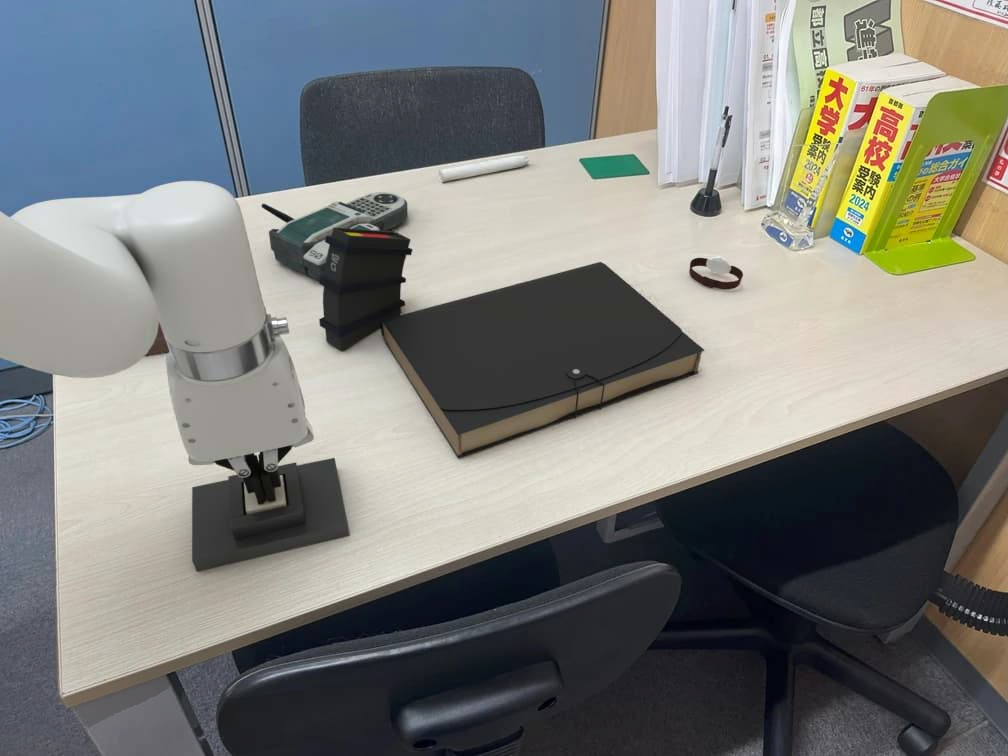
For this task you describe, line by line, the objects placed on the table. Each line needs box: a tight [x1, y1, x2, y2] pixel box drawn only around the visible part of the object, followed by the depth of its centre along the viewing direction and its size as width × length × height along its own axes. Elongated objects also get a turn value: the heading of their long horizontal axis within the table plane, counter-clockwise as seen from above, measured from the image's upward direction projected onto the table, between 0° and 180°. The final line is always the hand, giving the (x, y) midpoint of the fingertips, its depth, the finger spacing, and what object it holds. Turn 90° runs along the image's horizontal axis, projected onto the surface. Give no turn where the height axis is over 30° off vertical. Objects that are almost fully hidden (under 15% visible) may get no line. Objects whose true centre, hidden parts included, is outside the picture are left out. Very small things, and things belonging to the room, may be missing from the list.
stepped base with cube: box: [191, 457, 350, 572], centre depth 69 cm, size 14×9×4 cm, turn 108°
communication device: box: [261, 191, 408, 281], centre depth 107 cm, size 12×24×9 cm, turn 146°
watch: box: [688, 255, 744, 291], centre depth 103 cm, size 8×5×4 cm, turn 63°
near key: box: [244, 475, 288, 515], centre depth 68 cm, size 4×4×2 cm
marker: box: [438, 155, 531, 183], centre depth 129 cm, size 18×2×2 cm, turn 117°
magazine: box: [318, 227, 413, 351], centre depth 90 cm, size 4×13×15 cm, turn 141°
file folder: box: [379, 261, 706, 459], centre depth 89 cm, size 33×4×24 cm
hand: (266, 491), depth 68 cm, fingers closed
